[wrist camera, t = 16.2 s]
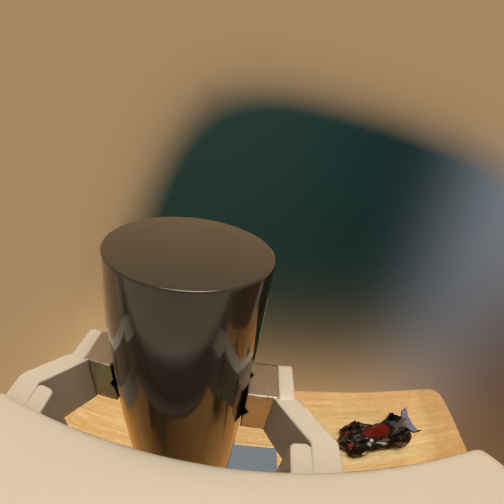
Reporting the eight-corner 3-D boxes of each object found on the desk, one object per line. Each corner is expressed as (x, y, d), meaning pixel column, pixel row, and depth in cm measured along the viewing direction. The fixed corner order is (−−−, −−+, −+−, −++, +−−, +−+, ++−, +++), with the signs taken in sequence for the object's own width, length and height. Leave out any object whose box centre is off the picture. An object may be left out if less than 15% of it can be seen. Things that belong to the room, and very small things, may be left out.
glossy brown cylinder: (123, 475, 9) (64, 267, 5) (147, 404, 13) (139, 209, 10) (225, 497, 9) (279, 308, 6) (233, 421, 14) (273, 229, 10)
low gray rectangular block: (152, 531, 19) (147, 524, 18) (171, 448, 30) (170, 433, 29) (268, 546, 20) (277, 541, 18) (269, 462, 31) (276, 448, 29)
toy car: (411, 447, 33) (425, 432, 31) (340, 463, 31) (352, 448, 30) (396, 418, 38) (408, 402, 37) (329, 428, 37) (339, 412, 35)
